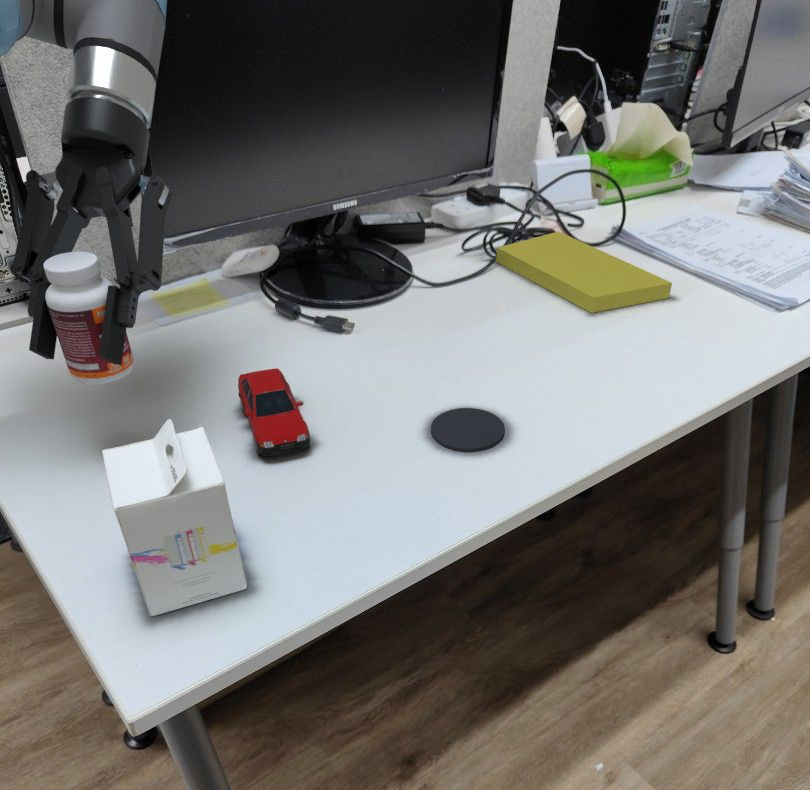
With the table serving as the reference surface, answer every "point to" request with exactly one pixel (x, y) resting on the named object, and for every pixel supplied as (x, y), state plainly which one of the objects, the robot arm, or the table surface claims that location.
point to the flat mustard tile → (582, 273)
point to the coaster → (467, 429)
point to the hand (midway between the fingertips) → (75, 357)
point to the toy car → (272, 413)
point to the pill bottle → (82, 316)
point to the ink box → (175, 518)
